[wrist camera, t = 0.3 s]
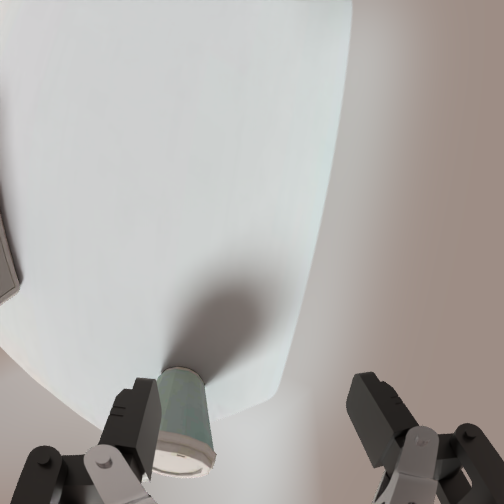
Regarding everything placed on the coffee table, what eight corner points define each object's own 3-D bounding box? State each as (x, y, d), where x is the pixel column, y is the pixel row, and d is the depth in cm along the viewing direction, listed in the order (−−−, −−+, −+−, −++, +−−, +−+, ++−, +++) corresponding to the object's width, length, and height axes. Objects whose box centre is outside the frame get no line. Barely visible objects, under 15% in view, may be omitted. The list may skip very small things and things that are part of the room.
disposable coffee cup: (200, 408, 43) (198, 489, 29) (136, 387, 40) (118, 469, 27) (228, 369, 40) (232, 462, 26) (154, 343, 37) (133, 438, 23)
